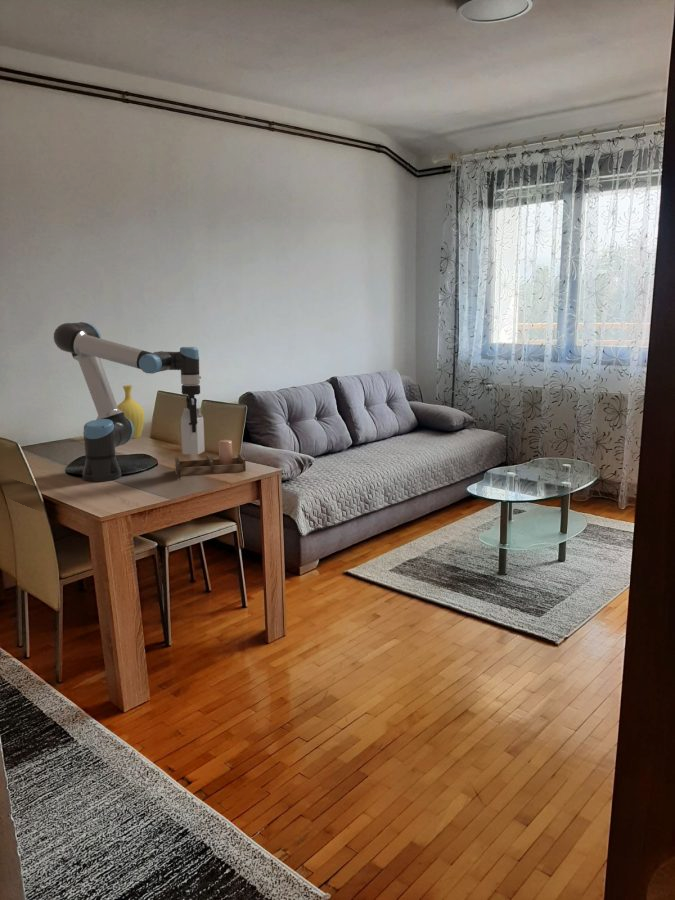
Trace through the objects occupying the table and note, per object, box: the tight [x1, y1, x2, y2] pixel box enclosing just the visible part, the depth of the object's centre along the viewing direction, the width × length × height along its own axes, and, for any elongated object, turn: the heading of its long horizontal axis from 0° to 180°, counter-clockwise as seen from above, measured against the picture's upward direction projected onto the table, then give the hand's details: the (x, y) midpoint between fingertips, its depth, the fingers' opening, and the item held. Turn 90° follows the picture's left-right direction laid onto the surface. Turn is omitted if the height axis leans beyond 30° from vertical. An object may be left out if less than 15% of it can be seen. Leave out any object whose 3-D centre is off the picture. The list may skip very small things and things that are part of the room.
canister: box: [218, 439, 233, 465], centre depth 284 cm, size 6×6×12 cm
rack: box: [174, 452, 247, 479], centre depth 283 cm, size 28×14×6 cm, turn 107°
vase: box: [117, 384, 146, 440], centre depth 358 cm, size 16×16×28 cm
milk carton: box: [180, 407, 206, 456], centre depth 277 cm, size 7×7×19 cm
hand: (192, 437), depth 278 cm, fingers closed on milk carton, 9 cm apart
